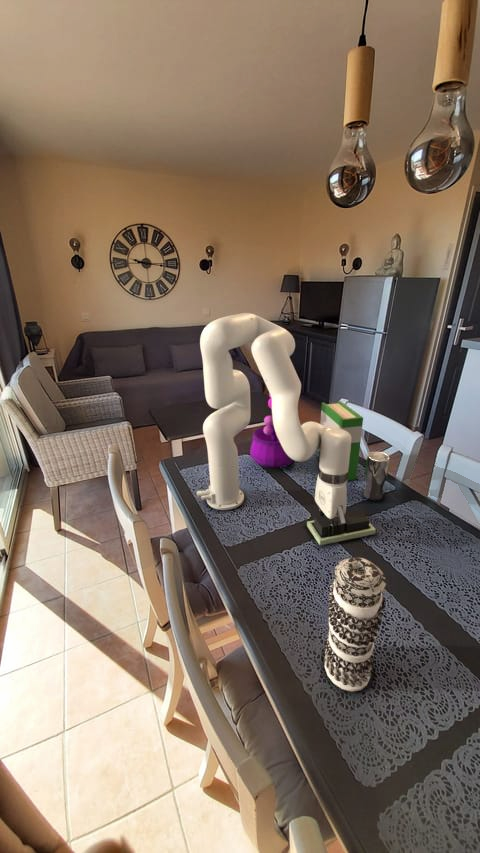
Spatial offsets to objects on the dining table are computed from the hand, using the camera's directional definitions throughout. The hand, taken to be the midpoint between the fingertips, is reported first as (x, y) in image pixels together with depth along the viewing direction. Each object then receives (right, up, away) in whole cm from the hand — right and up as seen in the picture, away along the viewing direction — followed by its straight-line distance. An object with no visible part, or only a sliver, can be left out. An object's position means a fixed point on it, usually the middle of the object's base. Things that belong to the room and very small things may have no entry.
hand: (328, 528), depth 103 cm
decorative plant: (-12, +15, +41) cm, 45 cm away
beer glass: (+19, +6, +17) cm, 26 cm away
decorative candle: (-5, -17, -34) cm, 39 cm away
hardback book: (+11, +13, +34) cm, 39 cm away
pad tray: (+4, -1, +2) cm, 4 cm away
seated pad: (+8, 0, +2) cm, 8 cm away
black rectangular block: (0, -1, 0) cm, 1 cm away
